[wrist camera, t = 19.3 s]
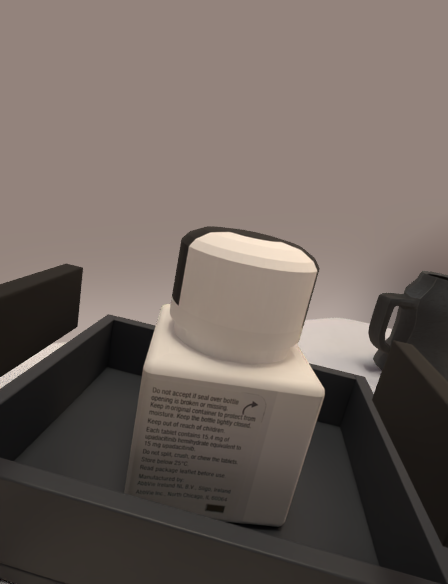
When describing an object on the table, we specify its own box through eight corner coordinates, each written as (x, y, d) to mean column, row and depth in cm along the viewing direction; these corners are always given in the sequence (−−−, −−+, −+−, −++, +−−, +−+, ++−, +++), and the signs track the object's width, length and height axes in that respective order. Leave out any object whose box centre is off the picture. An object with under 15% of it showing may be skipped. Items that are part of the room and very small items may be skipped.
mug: (416, 355, 47) (448, 272, 44) (479, 395, 39) (523, 297, 36) (337, 349, 43) (365, 258, 40) (387, 392, 35) (428, 282, 32)
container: (144, 411, 24) (176, 212, 20) (258, 426, 24) (308, 238, 21) (119, 516, 16) (163, 229, 13) (285, 531, 17) (368, 268, 14)
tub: (-86, 552, 14) (-92, 450, 13) (101, 369, 29) (108, 313, 28) (430, 716, 12) (486, 618, 11) (345, 432, 27) (365, 376, 26)
